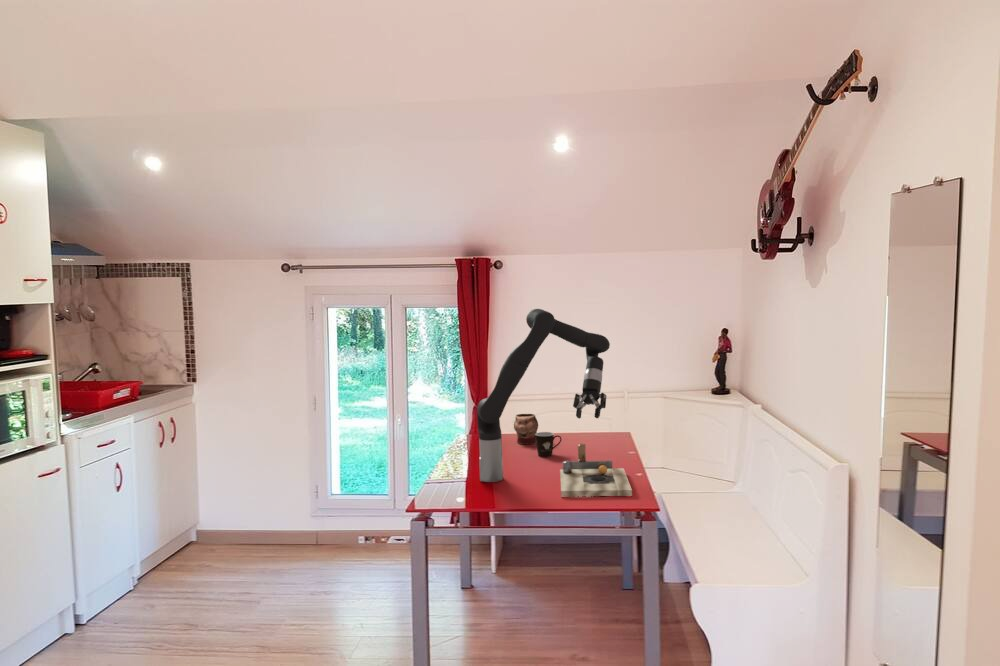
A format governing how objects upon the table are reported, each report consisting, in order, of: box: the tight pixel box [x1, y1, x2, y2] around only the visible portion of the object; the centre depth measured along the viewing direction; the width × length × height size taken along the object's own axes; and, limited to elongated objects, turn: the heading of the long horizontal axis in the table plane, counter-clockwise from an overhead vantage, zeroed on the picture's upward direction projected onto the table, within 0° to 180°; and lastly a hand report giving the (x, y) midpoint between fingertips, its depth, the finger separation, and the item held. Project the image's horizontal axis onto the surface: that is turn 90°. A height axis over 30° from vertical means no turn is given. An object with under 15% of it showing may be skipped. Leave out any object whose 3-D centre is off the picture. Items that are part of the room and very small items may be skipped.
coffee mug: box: [535, 431, 562, 458], centre depth 305 cm, size 12×9×10 cm
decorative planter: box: [513, 413, 539, 445], centre depth 333 cm, size 20×12×14 cm, turn 173°
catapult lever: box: [562, 443, 613, 474], centre depth 268 cm, size 20×4×11 cm, turn 86°
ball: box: [598, 465, 607, 474], centre depth 265 cm, size 4×4×4 cm
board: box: [559, 467, 633, 498], centre depth 259 cm, size 26×28×2 cm
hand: (587, 417), depth 274 cm, fingers open, 8 cm apart
